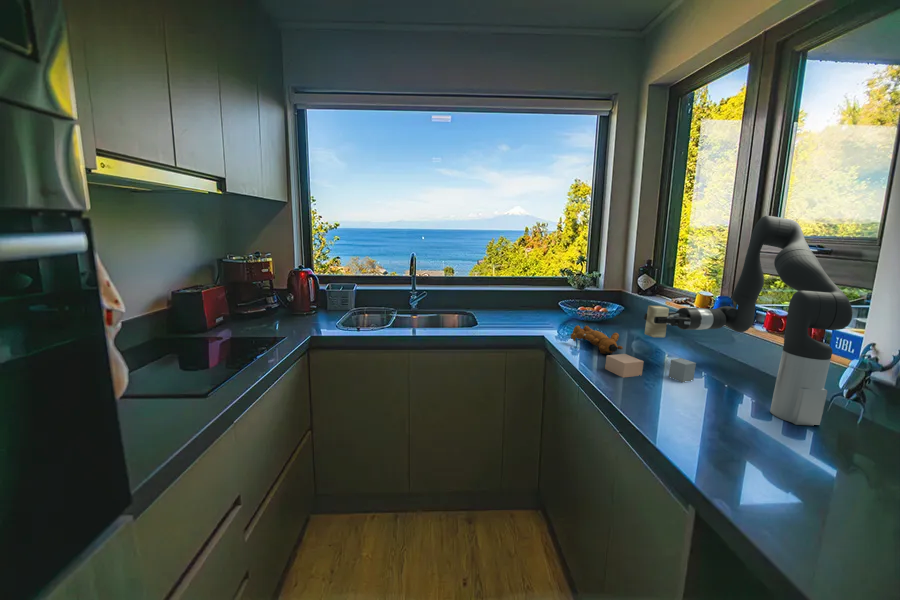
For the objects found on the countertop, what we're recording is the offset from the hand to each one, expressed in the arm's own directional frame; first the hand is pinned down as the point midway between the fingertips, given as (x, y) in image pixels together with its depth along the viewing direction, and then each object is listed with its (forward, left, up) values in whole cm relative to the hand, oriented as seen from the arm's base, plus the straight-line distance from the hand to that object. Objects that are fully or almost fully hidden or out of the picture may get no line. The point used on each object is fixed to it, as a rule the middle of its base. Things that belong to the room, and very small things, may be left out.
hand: (650, 318), depth 134 cm
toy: (+24, +8, -18) cm, 31 cm away
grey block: (-9, -8, -18) cm, 21 cm away
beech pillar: (0, -3, -6) cm, 7 cm away
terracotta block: (-5, +9, -18) cm, 21 cm away
